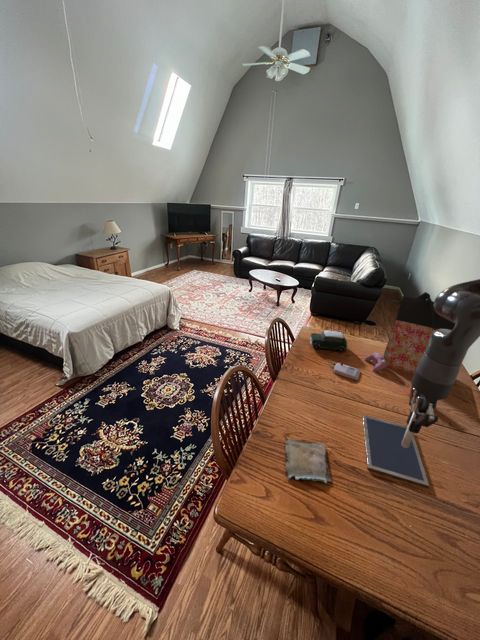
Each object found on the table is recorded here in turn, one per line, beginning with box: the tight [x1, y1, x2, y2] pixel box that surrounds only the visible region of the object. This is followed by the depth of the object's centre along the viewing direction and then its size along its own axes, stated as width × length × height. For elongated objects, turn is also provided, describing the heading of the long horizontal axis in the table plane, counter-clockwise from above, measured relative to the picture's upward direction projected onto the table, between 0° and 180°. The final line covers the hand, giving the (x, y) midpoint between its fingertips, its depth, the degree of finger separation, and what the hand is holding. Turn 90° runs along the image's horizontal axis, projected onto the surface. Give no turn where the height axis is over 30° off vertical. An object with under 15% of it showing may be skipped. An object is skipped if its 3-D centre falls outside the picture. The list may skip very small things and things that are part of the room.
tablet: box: [361, 414, 430, 489], centre depth 82 cm, size 15×21×1 cm
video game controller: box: [363, 352, 388, 373], centre depth 120 cm, size 10×5×7 cm, turn 0°
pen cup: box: [407, 384, 412, 398], centre depth 102 cm, size 4×4×7 cm
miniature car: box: [309, 329, 348, 353], centre depth 134 cm, size 9×18×8 cm, turn 80°
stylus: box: [401, 412, 421, 448], centre depth 69 cm, size 2×2×13 cm
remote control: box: [327, 361, 362, 381], centre depth 116 cm, size 7×16×3 cm, turn 58°
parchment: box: [284, 438, 332, 485], centre depth 76 cm, size 12×13×1 cm
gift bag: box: [382, 291, 455, 375], centre depth 114 cm, size 29×14×35 cm, turn 60°
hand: (412, 427), depth 69 cm, fingers closed on stylus, 2 cm apart
